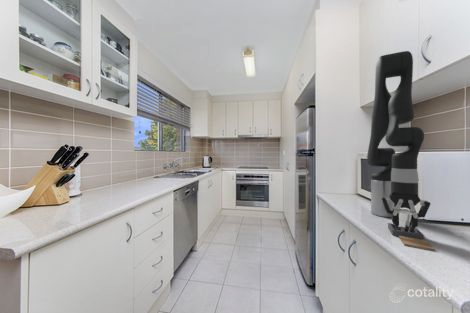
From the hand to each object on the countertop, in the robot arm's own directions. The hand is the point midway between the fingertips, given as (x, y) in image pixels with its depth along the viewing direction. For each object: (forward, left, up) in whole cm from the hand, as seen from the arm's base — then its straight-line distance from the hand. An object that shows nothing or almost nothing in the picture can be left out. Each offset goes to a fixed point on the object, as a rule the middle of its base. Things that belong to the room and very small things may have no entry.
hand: (404, 226), depth 68 cm
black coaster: (0, 0, -3) cm, 3 cm away
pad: (+9, +1, -3) cm, 9 cm away
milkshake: (0, 0, -3) cm, 3 cm away
